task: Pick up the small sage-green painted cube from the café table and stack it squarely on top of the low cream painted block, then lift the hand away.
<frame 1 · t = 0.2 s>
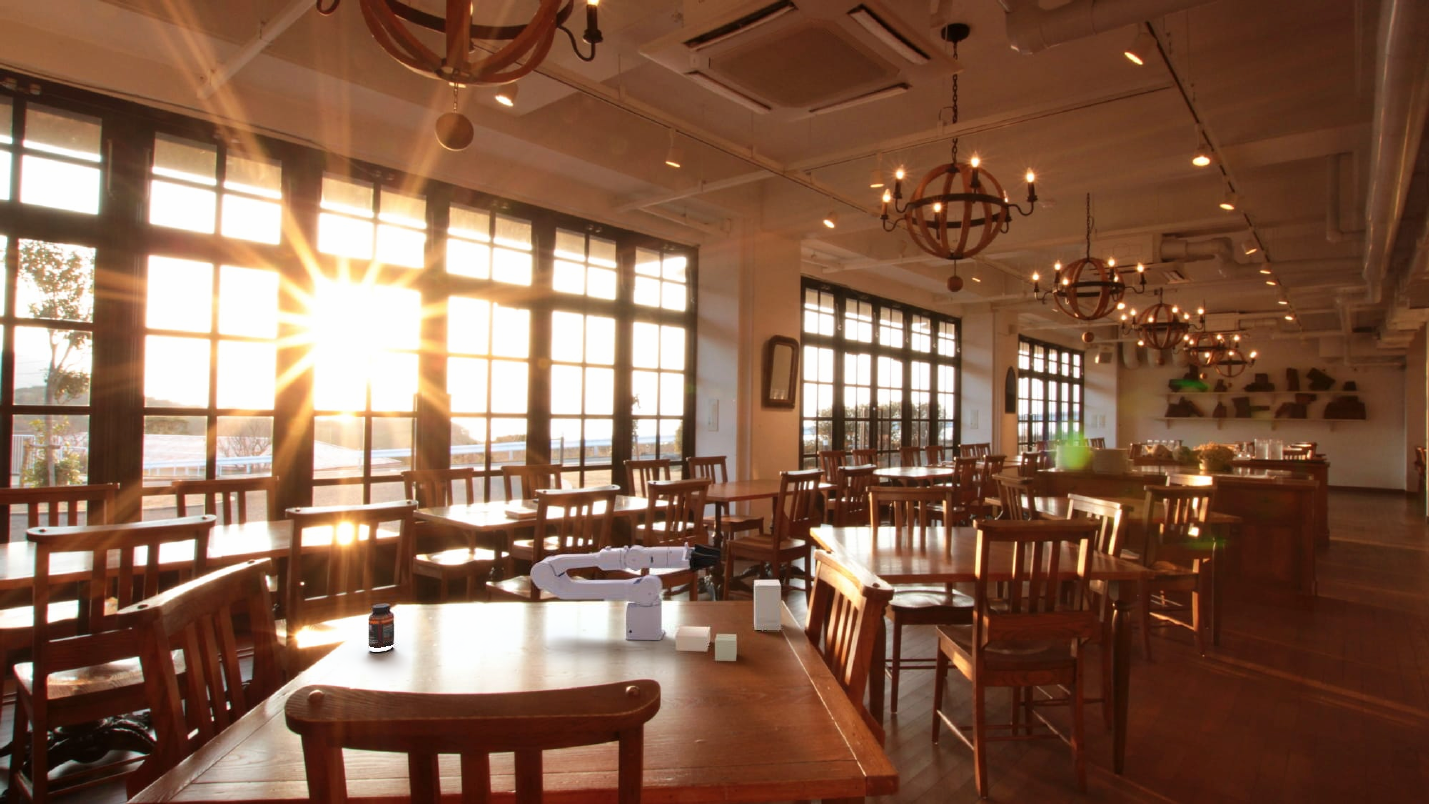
hand: (719, 557, 191), 22 cm above the table, tool horizontal, fingers open, 7 cm apart
cream block: (693, 646, 185), on the table
supplement box: (767, 628, 200), on the table
supplement bottle: (381, 650, 182), on the table
sage block: (726, 657, 176), on the table
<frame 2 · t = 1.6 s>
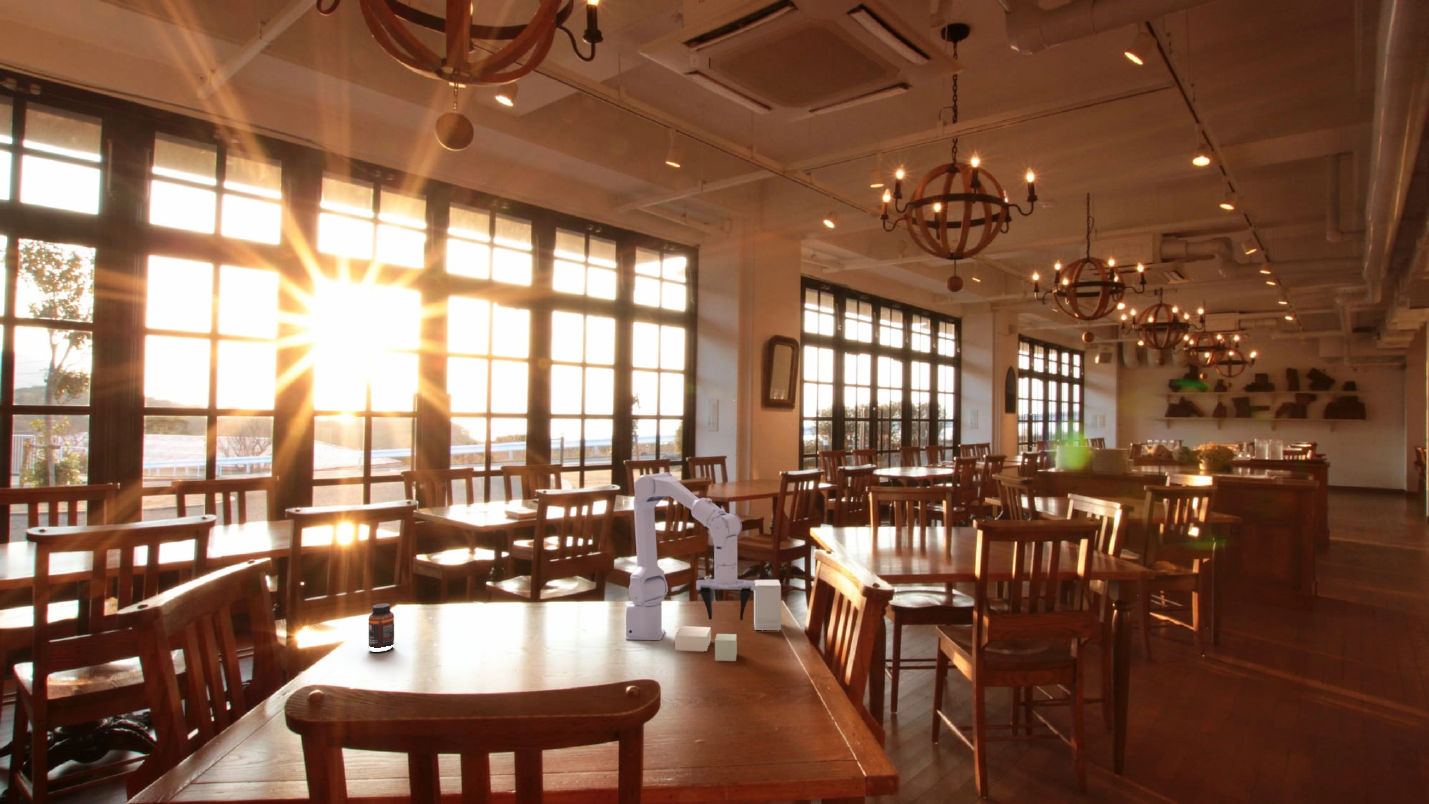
hand: (725, 618, 176), 9 cm above the table, tool pointing down, fingers open, 7 cm apart
nothing on the table moved.
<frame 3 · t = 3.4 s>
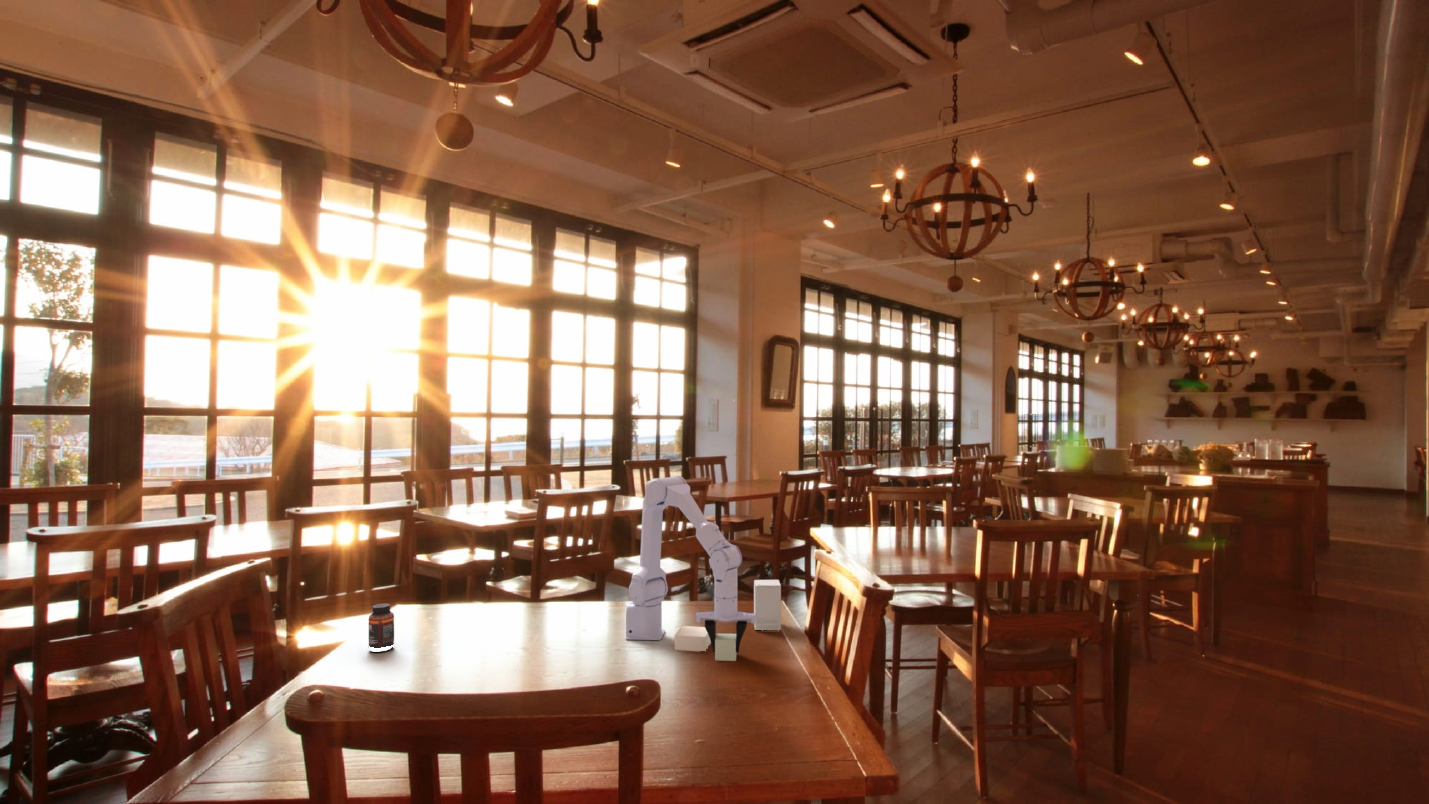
hand: (726, 651, 176), 1 cm above the table, tool pointing down, fingers closed on sage block, 5 cm apart
sage block: (726, 657, 176), on the table, touching gripper
everything else where it was.
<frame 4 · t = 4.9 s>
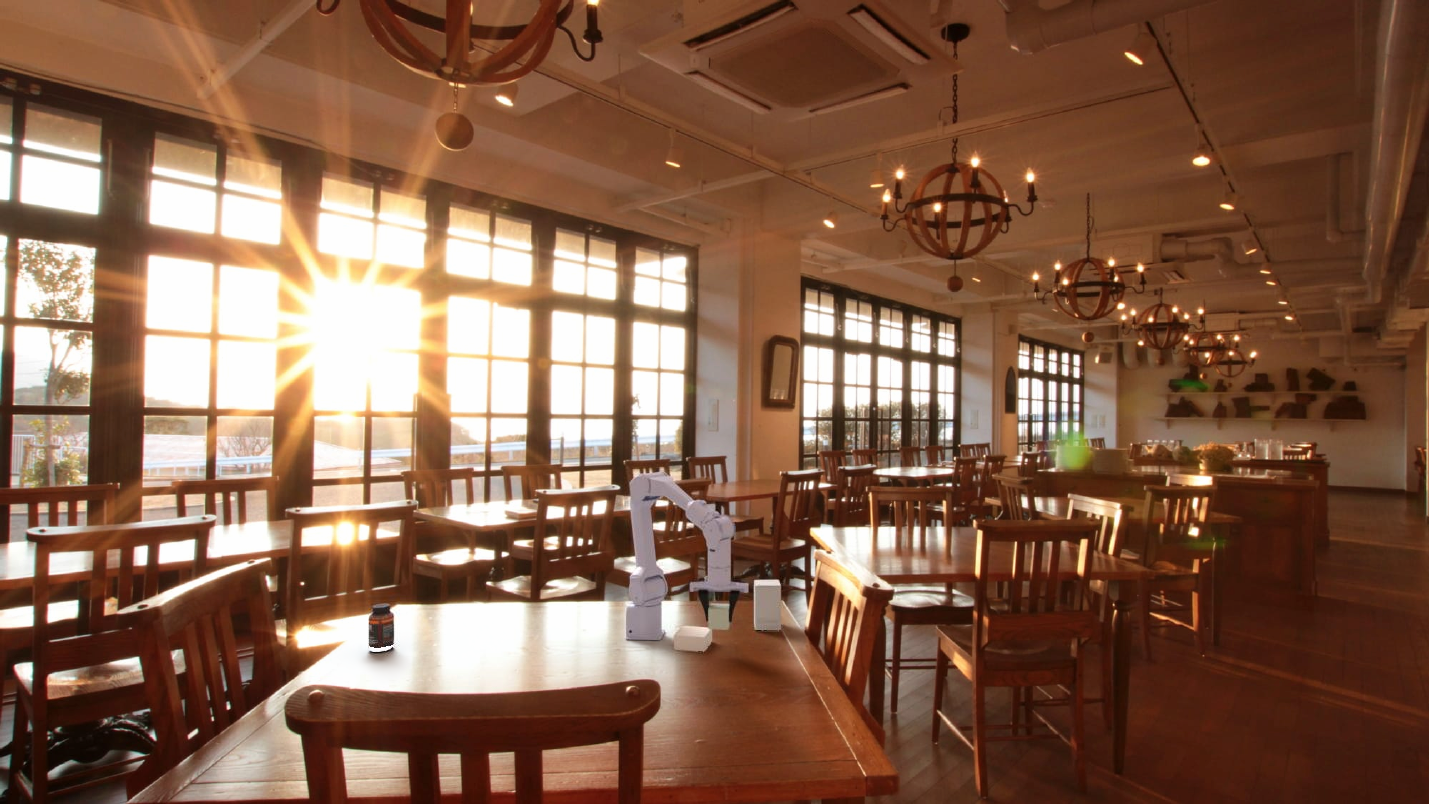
hand: (719, 620, 178), 8 cm above the table, tool pointing down, fingers closed on sage block, 5 cm apart
sage block: (719, 626, 178), point 7 cm above the table, touching gripper
everything else where it was.
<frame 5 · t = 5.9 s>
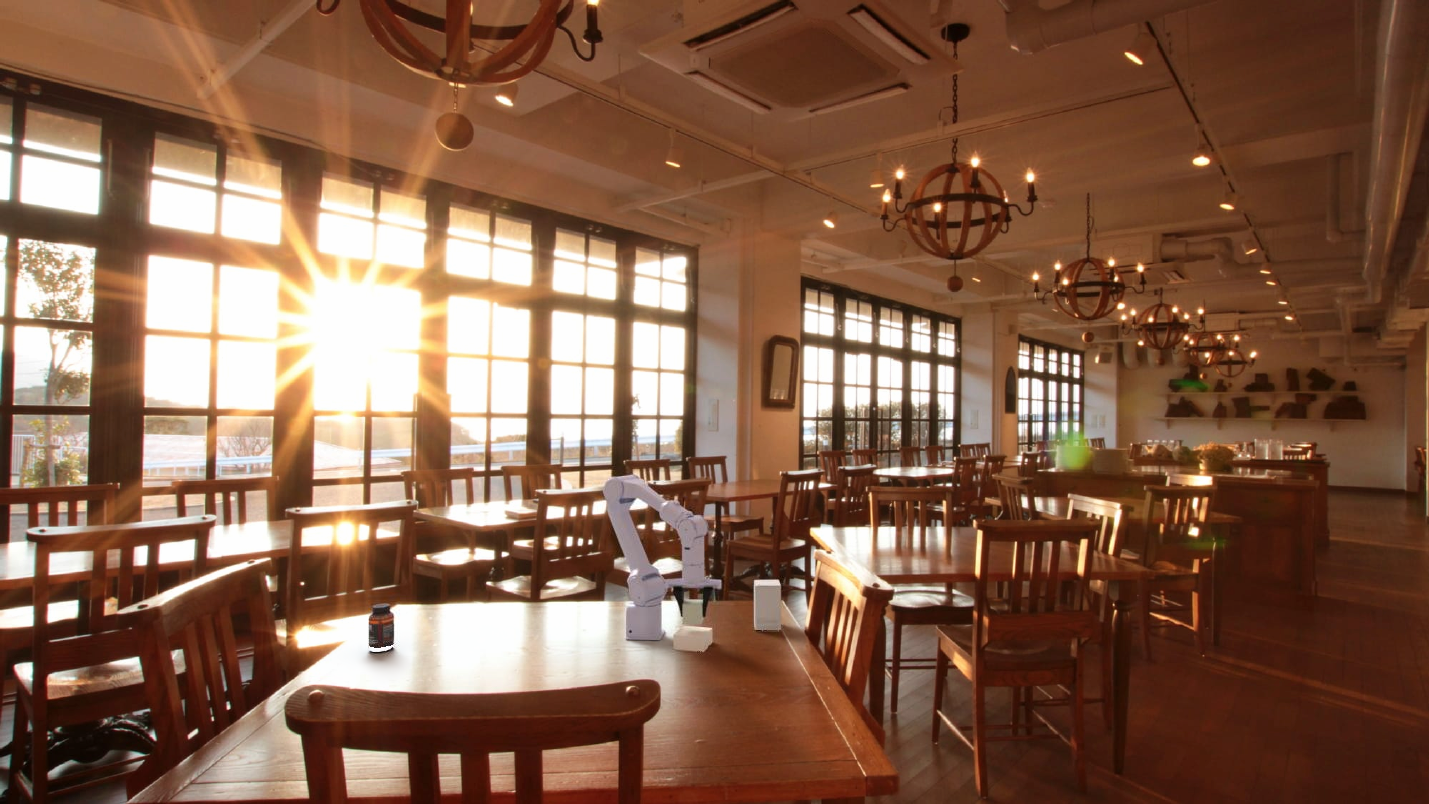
hand: (693, 616, 185), 8 cm above the table, tool pointing down, fingers closed on sage block, 5 cm apart
sage block: (693, 621, 185), point 6 cm above the table, touching gripper
everything else where it was.
when the fingers open (6 cm above the table, at t = 6.7 s): sage block drops 1 cm, point 4 cm above the table.
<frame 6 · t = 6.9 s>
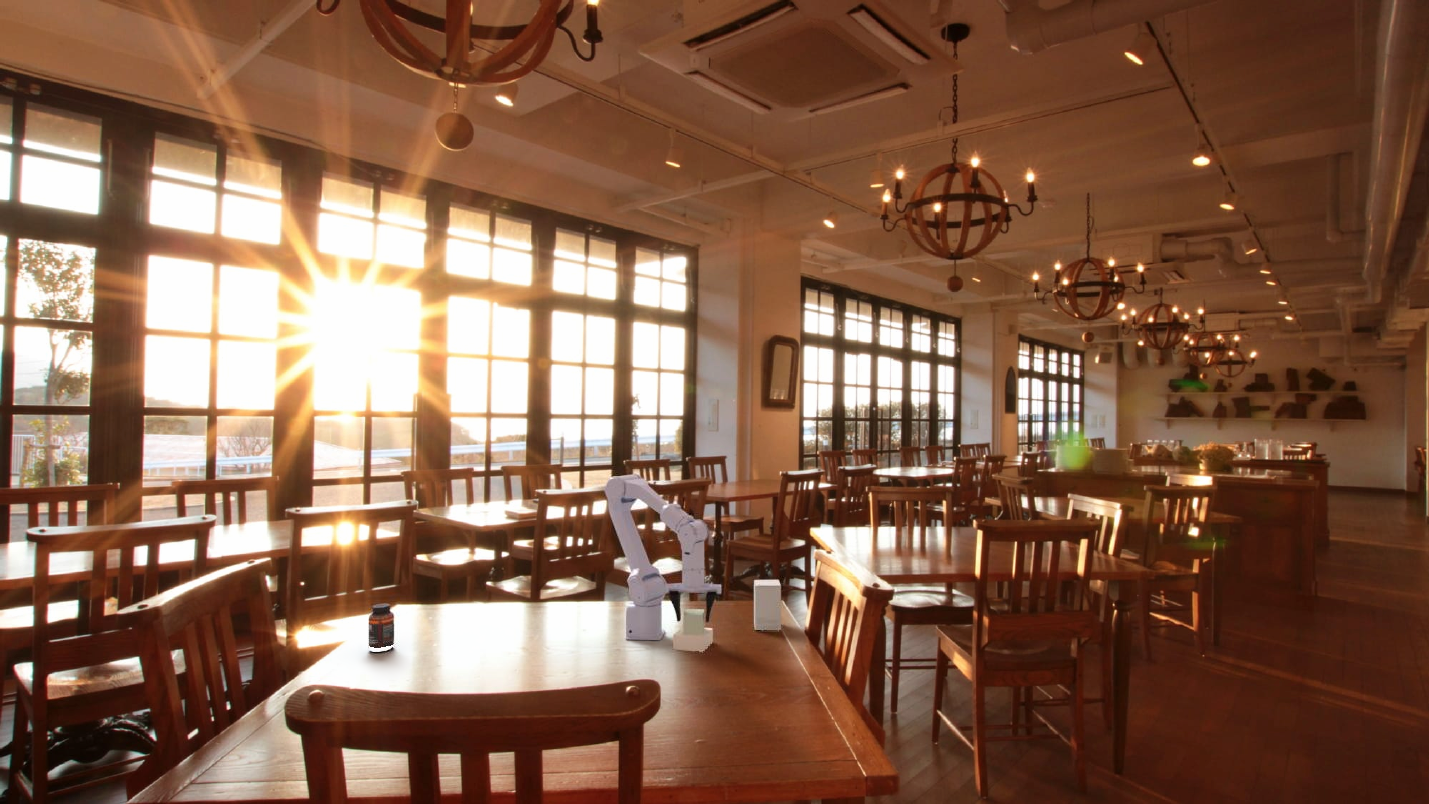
hand: (693, 620, 185), 6 cm above the table, tool pointing down, fingers open, 7 cm apart
sage block: (694, 631, 185), point 4 cm above the table
everything else where it was.
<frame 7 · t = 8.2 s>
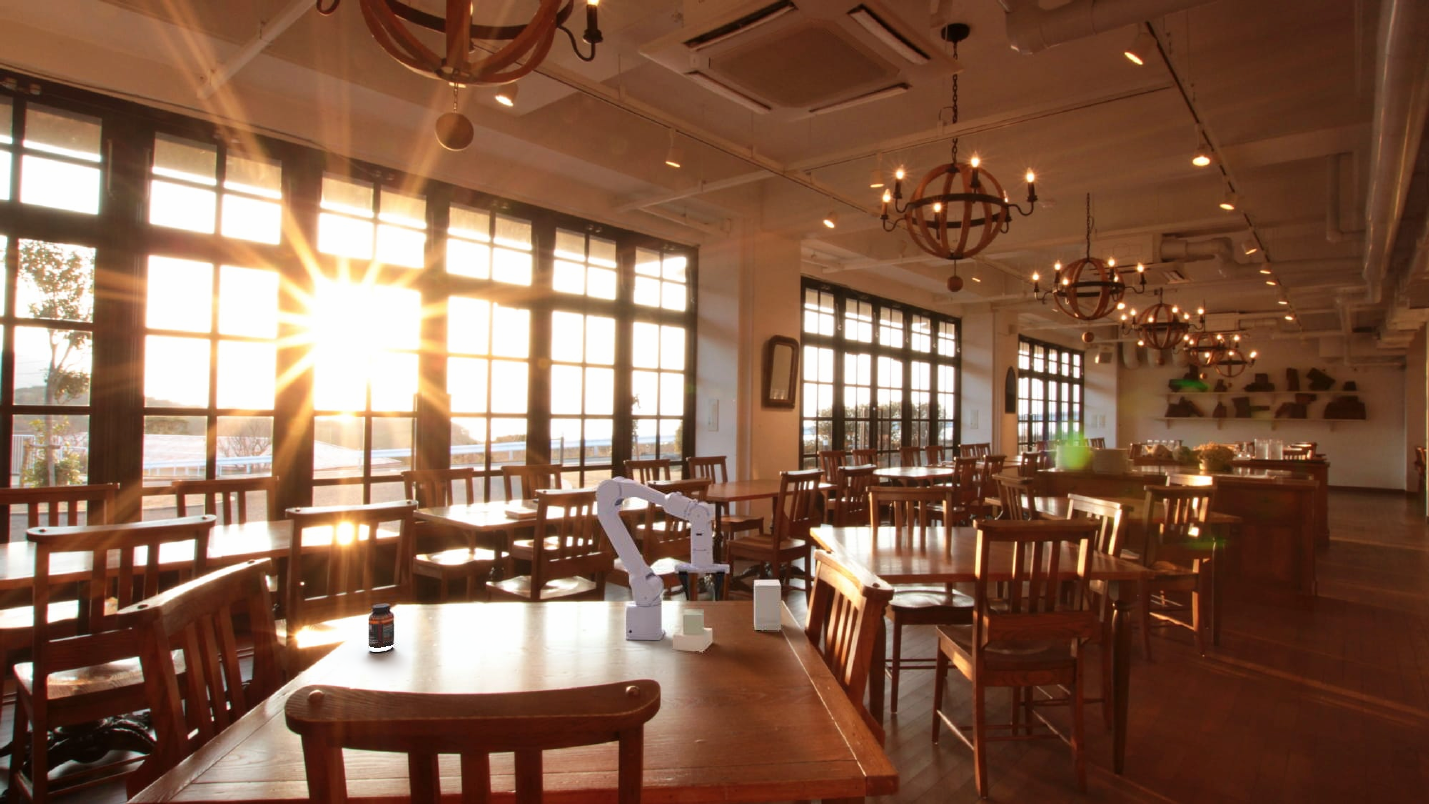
hand: (702, 600, 190), 10 cm above the table, tool pointing down, fingers open, 7 cm apart
nothing on the table moved.
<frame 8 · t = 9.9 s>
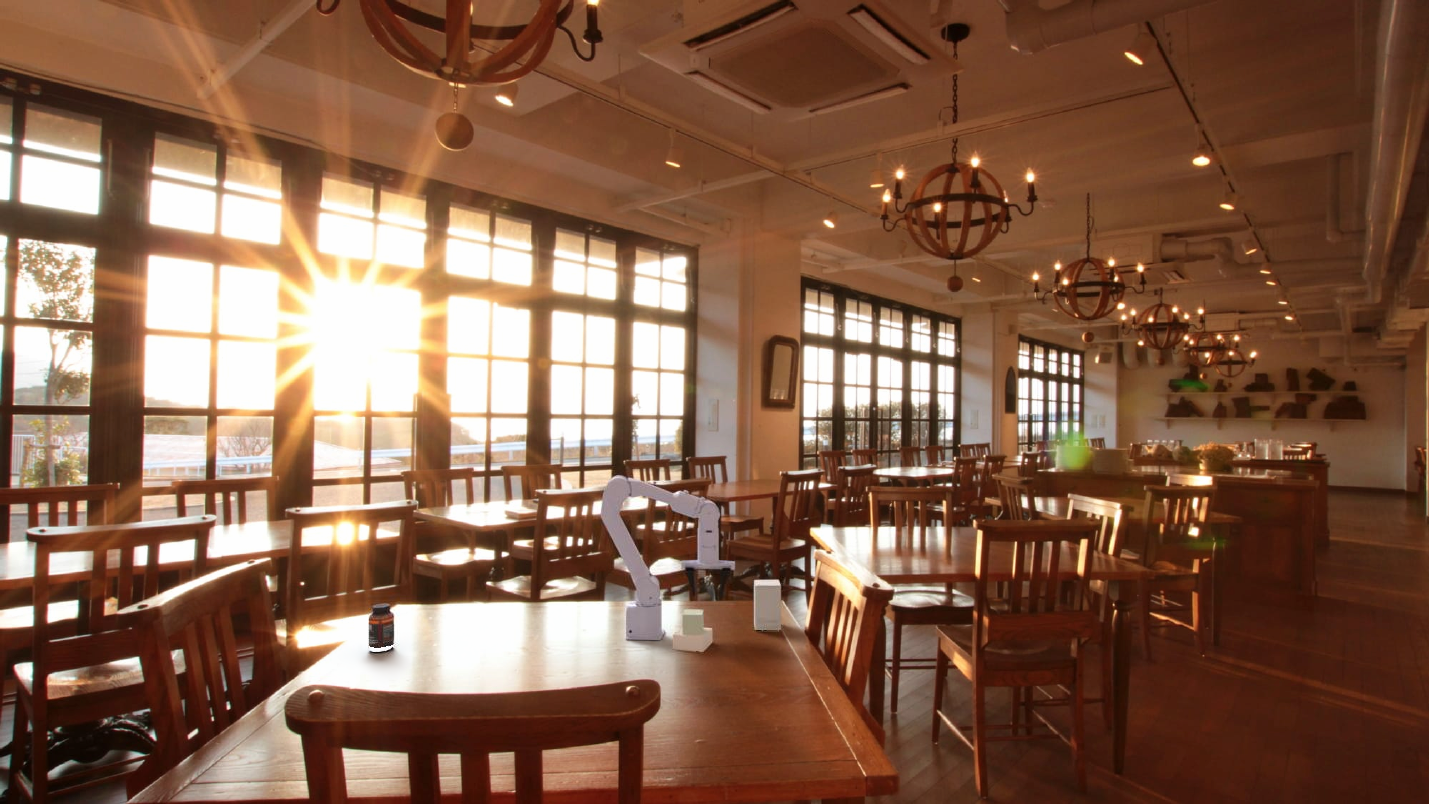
hand: (708, 595, 195), 10 cm above the table, tool pointing down, fingers open, 7 cm apart
cream block: (692, 646, 185), on the table, touching sage block
sage block: (693, 631, 185), point 4 cm above the table, touching cream block
everything else where it was.
at the end: sage block 0.0 cm off-centre on the cream block, point 4.0 cm above the cream block's base; sage block tilted 1°; the gripper is holding nothing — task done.
